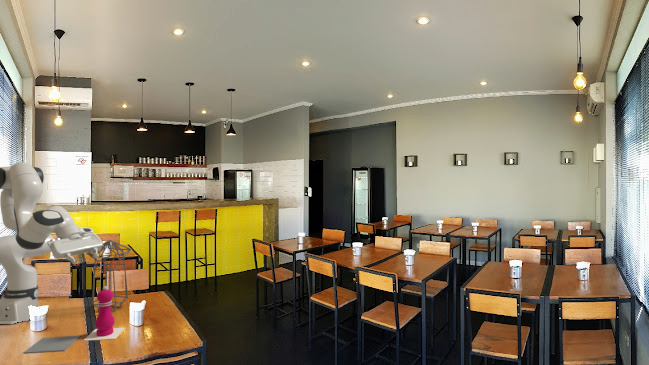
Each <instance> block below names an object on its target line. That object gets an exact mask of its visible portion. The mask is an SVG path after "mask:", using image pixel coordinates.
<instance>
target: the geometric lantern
mask: <svg viewBox="0 0 649 365" xmlns="http://www.w3.org/2000/svg"><path fill="white" fill-rule="evenodd" d="M120 246H121V247H123V248H121V247H120ZM107 249H108V250H110V254H104V253H105V251H106V250H107ZM132 250H133V248H132V247H128V246H127V245H123V244H121V243H118V242H116V241H114V240H112V239H110V240H109V239H108V240H107V241H106V240H105V242H103V246H102V247H101V249H100V250H98V252H97V253H98V255H99V257H98V258H99V260H98V258H95V259H94V257H93V254H94V253H93V252H87V253H85V254H86V255H88V256H89V257H91V259H93V260H94V264H93V282H92V291H91V302H90V303H91V305H93V306H94V307H95V308H97V312H98V313H99V309H100V308H99V306H98V303H96V302H99V301H98V300H97V299H96V300H95V280H96V279H95V278H96V271H105V282H104V286H107V283H108V290H111V291H112V282H113V291H112V292H113V299H114V301H112V304H111V313H112V314H113V313H115V312H116V311H118V310H120V309H122V308H123V303H124V302H126V301H128V300H129V291H128V280H127V271H126V269H127V267H126V266H127V265H126V261H125V258H126V256H128V254H130V253H131V251H132ZM115 251H116V252H115ZM119 251H120V252H121V253H120V252H119ZM101 252H102V253H101ZM112 256H113V259H112V260H111V261H110V262H109V263H108V261H107V259H108V258H110V257H112ZM104 257H105V258H104ZM115 258H116V259H118V261H117V263H115V266H114V268H113V269H112V264H113V261H114V260H115ZM121 260H123V261H122V262H123V263H121V264H120V263H119V262H120V261H121ZM104 261H105V262H104ZM96 262H97V264H96ZM99 262H102V263H103V264H102V265H101V264H100V265H99V266H98V264H99ZM108 265H109V267H108ZM117 265H121V266H119V267H116V266H117ZM103 266H104V267H105V268H104V269H102V268H100V267H103ZM120 268H124V270H123V271H124V289H125V296H124V295H116V282H115V281H116V280H115V270H118V269H120ZM112 278H113V279H112ZM112 280H113V281H112ZM107 281H108V282H107ZM117 298H123V300H121V301H118V302H117ZM115 308H117V309H115Z"/></svg>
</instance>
